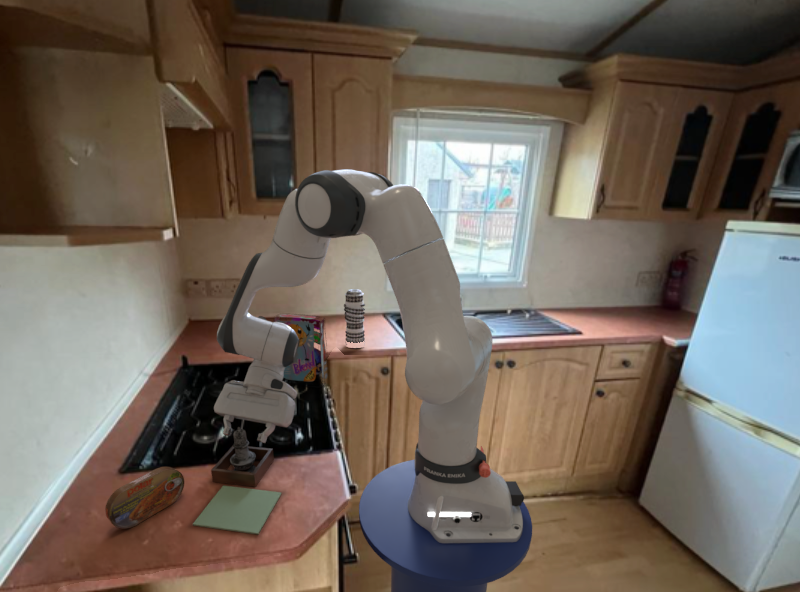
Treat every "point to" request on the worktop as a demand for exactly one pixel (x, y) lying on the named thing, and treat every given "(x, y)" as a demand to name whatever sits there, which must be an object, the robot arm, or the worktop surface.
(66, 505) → the worktop surface
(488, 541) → the robot arm
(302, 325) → the box
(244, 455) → the grey chess piece
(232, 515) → the mat
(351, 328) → the decorative candle
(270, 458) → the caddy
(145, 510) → the tin
